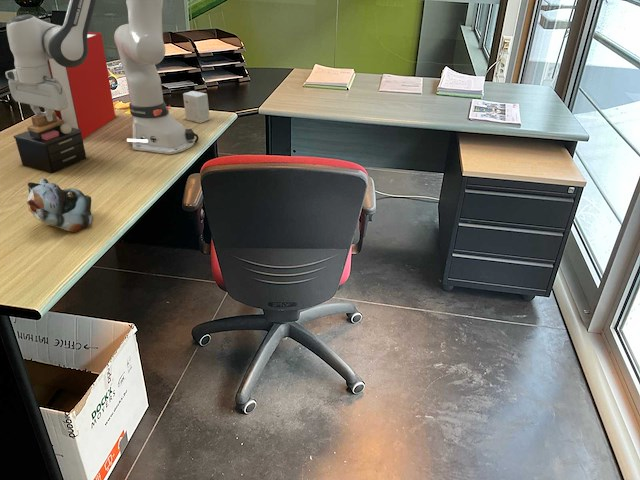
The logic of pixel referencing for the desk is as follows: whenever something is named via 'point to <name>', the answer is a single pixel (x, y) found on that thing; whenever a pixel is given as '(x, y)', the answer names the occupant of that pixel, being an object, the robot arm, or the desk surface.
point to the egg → (65, 128)
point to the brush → (44, 125)
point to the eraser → (50, 135)
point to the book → (86, 89)
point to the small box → (196, 106)
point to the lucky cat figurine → (59, 206)
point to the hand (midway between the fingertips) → (44, 119)
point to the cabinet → (51, 151)
